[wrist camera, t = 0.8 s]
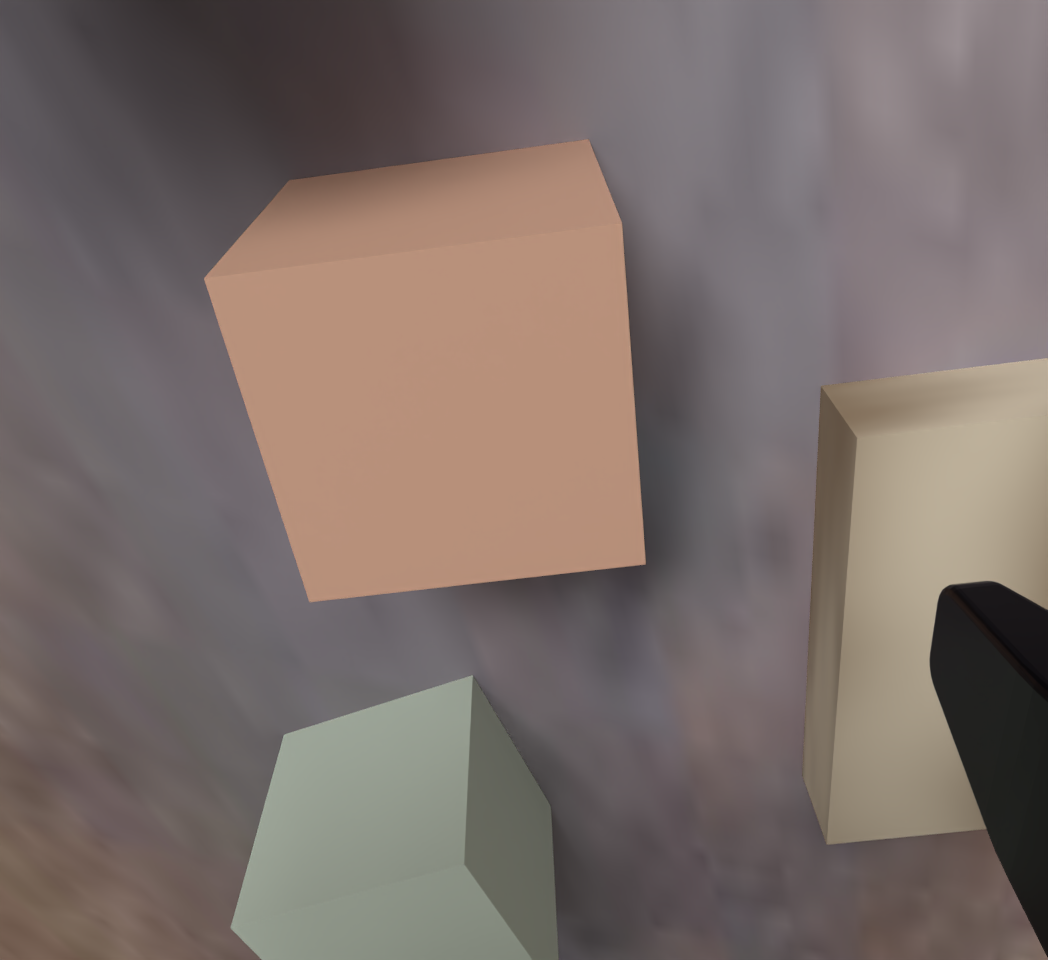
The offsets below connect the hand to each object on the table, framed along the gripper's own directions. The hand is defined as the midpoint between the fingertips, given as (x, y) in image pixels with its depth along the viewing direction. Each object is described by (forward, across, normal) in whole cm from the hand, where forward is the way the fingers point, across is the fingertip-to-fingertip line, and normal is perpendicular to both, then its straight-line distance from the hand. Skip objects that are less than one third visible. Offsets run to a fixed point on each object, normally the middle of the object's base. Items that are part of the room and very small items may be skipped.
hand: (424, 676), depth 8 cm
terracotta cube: (+10, 0, 0) cm, 10 cm away
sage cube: (+10, +3, +12) cm, 16 cm away
